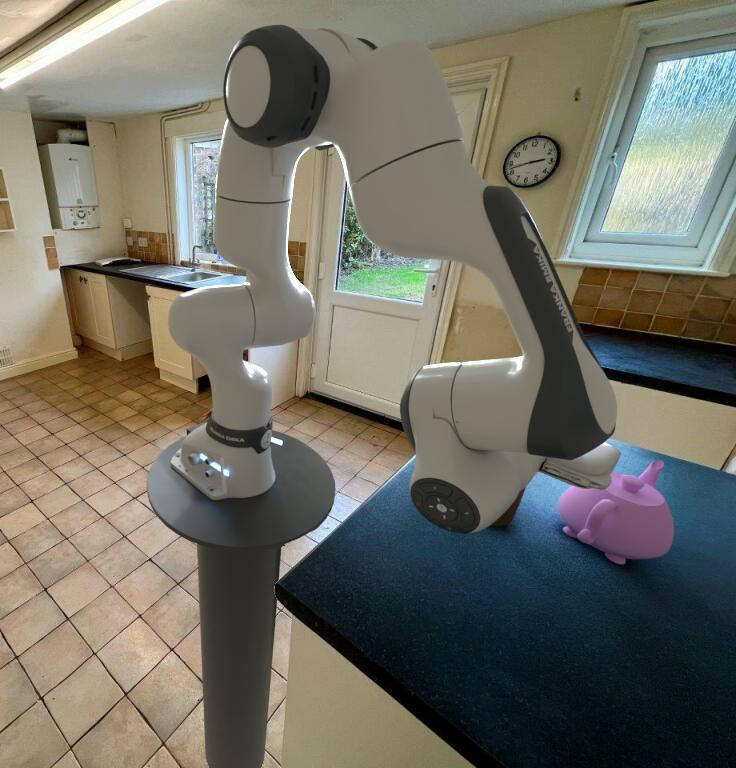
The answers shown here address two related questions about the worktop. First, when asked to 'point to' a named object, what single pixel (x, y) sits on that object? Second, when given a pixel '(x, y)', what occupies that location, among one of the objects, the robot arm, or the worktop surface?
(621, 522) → the teapot
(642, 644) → the worktop surface
